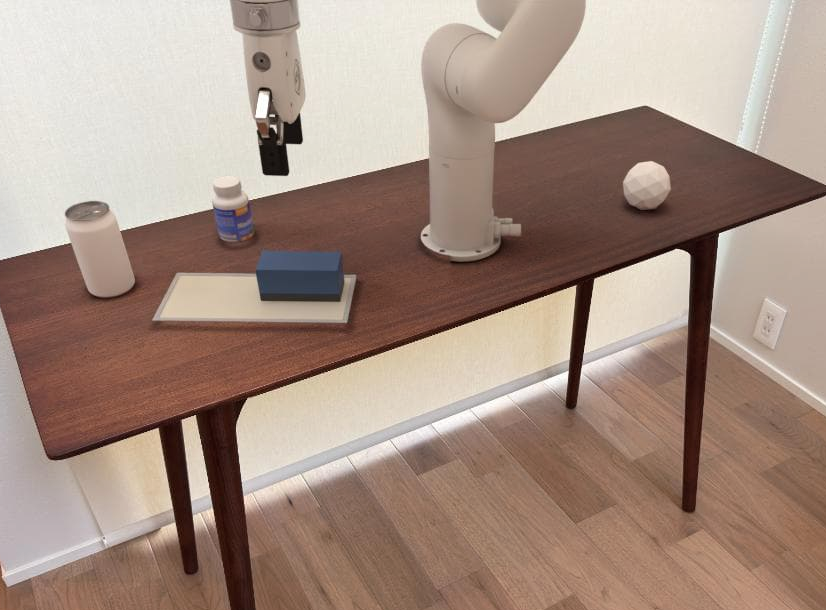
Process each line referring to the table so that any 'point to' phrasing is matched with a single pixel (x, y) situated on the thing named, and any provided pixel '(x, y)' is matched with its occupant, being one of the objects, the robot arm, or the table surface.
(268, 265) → the eraser
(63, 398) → the table surface
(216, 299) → the whiteboard
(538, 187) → the table surface
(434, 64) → the robot arm
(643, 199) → the geometric ball
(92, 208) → the can
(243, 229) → the pill bottle
